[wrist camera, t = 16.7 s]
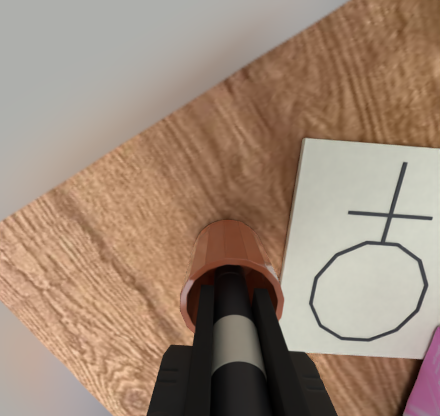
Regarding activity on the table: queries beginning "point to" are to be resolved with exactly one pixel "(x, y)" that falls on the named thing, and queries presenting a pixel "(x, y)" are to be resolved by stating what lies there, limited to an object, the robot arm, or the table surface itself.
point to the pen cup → (228, 254)
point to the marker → (236, 350)
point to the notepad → (363, 250)
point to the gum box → (427, 384)
